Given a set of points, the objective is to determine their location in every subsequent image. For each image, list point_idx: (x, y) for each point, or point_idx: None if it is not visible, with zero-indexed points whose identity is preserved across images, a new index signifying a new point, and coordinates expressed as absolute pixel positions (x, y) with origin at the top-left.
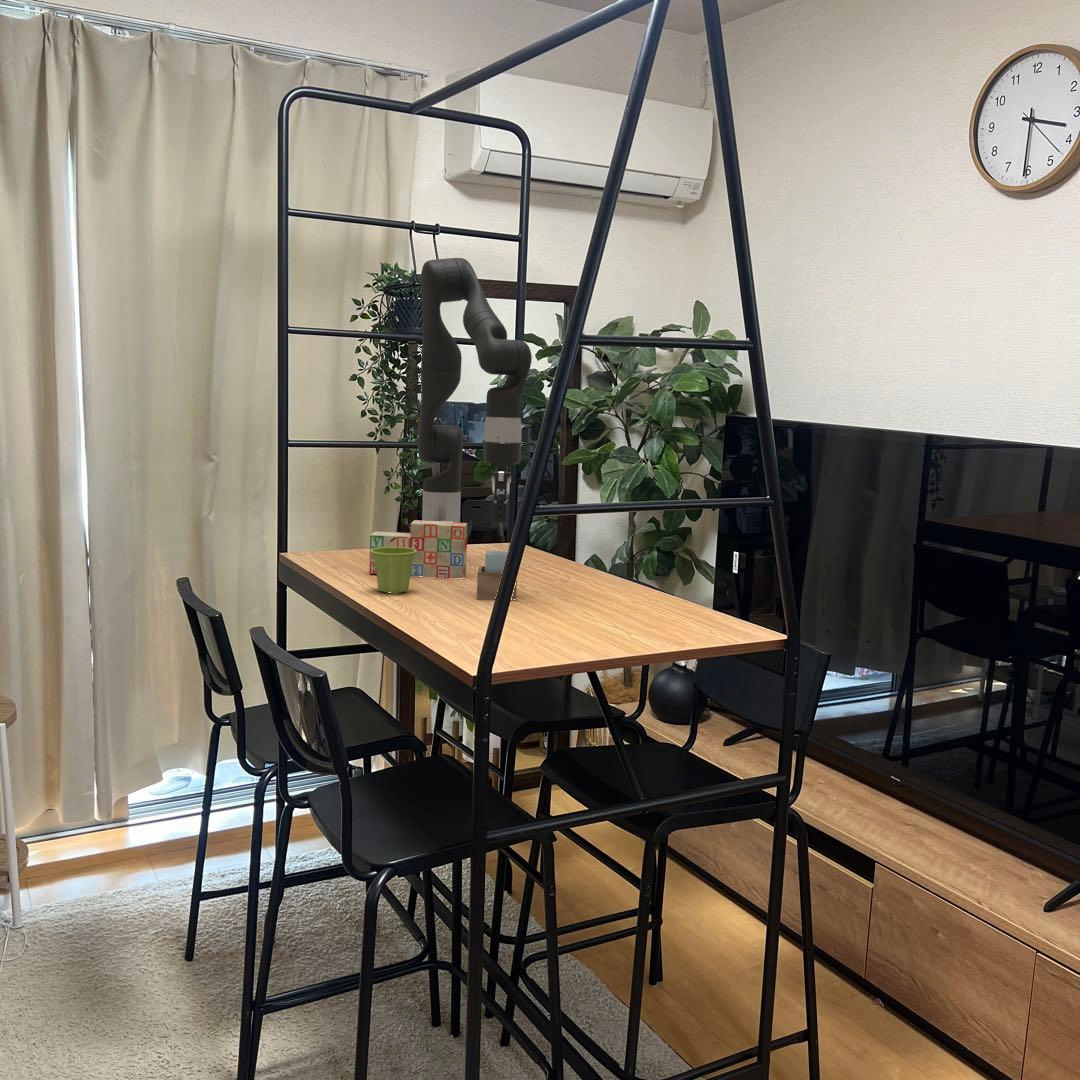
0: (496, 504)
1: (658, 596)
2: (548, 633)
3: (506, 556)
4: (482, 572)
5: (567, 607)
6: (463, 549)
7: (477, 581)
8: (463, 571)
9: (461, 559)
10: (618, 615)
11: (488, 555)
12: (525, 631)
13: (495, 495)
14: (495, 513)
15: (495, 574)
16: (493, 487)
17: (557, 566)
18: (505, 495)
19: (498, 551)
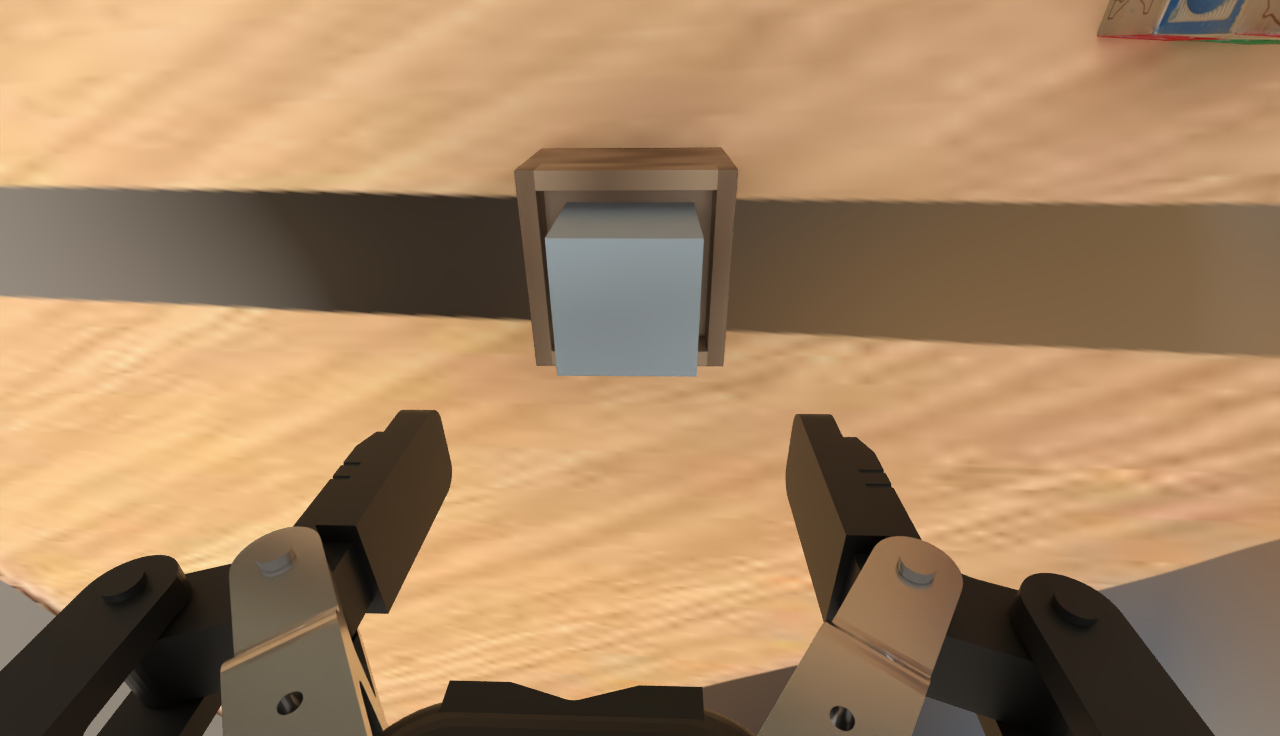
0: (324, 534)
1: (710, 666)
2: (81, 405)
3: (557, 354)
4: (526, 199)
5: (488, 466)
6: (1258, 27)
7: (524, 163)
8: (1145, 36)
9: (1203, 16)
10: (421, 572)
11: (547, 255)
12: (61, 343)
13: (55, 636)
14: (374, 458)
15: (527, 265)
16: (227, 716)
17: None
18: (117, 722)
19: (689, 312)
